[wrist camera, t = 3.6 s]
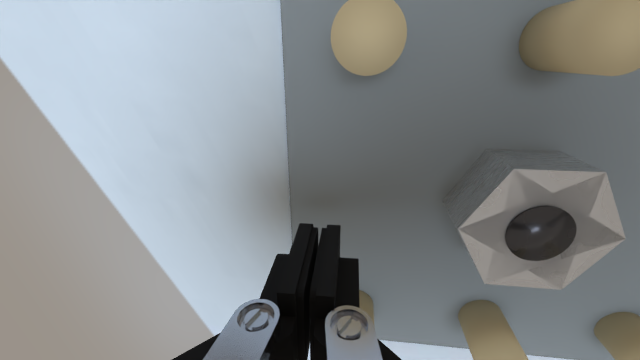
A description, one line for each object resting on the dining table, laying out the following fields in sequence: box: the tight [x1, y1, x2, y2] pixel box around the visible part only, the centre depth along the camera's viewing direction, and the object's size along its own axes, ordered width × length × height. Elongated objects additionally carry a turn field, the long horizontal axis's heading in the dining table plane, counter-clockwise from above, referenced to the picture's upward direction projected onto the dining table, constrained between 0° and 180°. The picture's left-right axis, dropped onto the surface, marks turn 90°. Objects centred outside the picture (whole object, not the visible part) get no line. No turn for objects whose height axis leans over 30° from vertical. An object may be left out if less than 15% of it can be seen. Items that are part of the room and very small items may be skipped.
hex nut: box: [442, 149, 626, 290], centre depth 15 cm, size 7×6×3 cm
